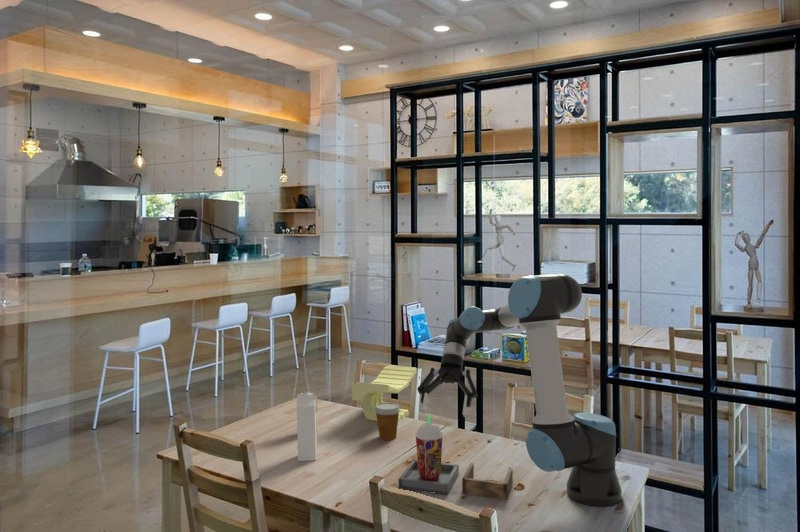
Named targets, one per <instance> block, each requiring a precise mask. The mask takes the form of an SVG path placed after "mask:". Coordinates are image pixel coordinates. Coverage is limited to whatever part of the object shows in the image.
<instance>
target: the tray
mask: <svg viewBox="0 0 800 532" xmlns="http://www.w3.org/2000/svg"><path fill="white" fill-rule="evenodd" d="M459 468H460V467H459V464H453V463H447V462H445V463H443V462H441V474H440V476H439V479H437V480H436V481H424V480H422V479H421V478H420V475H419V474H418V460H417V459H412V460H411V462H410V463H409V465H407V467H406V469H405V470H404V471H403V473H402V474H401V475H400V476H399V477H398V489H399V488H403V489H402V490H406V489H407V491H415V492H422V491H426V492H425V493H428V492H435V493H434V494H436V493H440V494H439V495H443V494H444V495H443V496H448V495H449V492H450V491H451V489H452V488H453V485H454V484H455V482H456V480H457V478H458V477H459V475H460V473H459V472H460V471H459V470H460V469H459Z"/></svg>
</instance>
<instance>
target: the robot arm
mask: <svg viewBox="0 0 800 532" xmlns="http://www.w3.org/2000/svg"><path fill="white" fill-rule="evenodd" d="M582 298H583V291H582V287H581V286H580V284H579V282H578V281H577V280H576V279H575V278H573V277H572V276H570V275H568V274H564V273H557V274H538V275H537V274H536V275H535V274H534V275H531V274H530V275H527V276H521V277H519V278H517V279H516V280H514V282H512V285H511V286H510V288H509V291H508V296H507V304H506V305H503V306H501V307H499V308H494V309H493V308H492V309H484V310H482V309H481V308H479V307H477V306H473V305H471V306H469V307H466V309H465V310H463V311H462V312H461V313H460V315H459V317H455V318H452V319H450V320H449V321H448V324H447V327H446V334H445V335H446V336H445V341H444V346H443V351H442V356H441V362H440V368H439V369H435V368H434V367H431V368H430V370H429V373H428V374H427V375H426V377H425V378H424V379H423V381H422V382H421V383H420V384H419V386H418V387H417V392H418V394H420V395H421V397H420V402H421V404H422V406H421V407H422V408H421V412H422V414H423V415H426V414H427V407H428V403H429V397H430V396H429V394H430V393H432V392H433V391H434V390H435V389H436V388H437V387H439V386H440V385H442V384H444V383H445V384H455V383H456V384H457V385H458V386H459V388H460V389H461V391H463V392H464V400H463V407H462V408H463V409H462V415H463V418H466V417H467V412H468V408H471V407H472V406H471V405H472V399H474V398H478V396H479V395H478V392H477V389H476V387H475V385H474V382H473V380H472V375H471V371H470V369H469V368H467V369H466V370H464V371H463V368H464V367H463V366H464V359H465V354H466V347H467V342H468V340H469V339H470V338H471V337H472V336H473V335H474V334H476V333H483V332H484V333H485V332H491V331H492V332H493V331H507V330H512V329H513V328H514V327H516V326H517V325H520V326H521V327H522V328H523V329H524V330H525V334H526V335H525V336H526V343H527V349H528V357H529V358H528V359H529V365H530V372H531V373H530V374H531V381H532V389H533V397H534V404H535V405H534V406H535V413H536V414H535V416H534V418H533V419H532V420H531V424H532V429H531V430H530V431H528V432H527V434H526V437H525V447H526V450H527V452H528V453H527V454H528V455H529V457H530V460H531V461H532V462H533V463H534V465H535V466H536V467H537V468H538V469H540V471H541V470H542V471H543V472H547V473H551V472H552V473H553V472H560V471H563V470H566V469H569V468H571V469H570V472H569V476H568V478H567V481H566V494H567V495H568V497H569V498H571V499H572V500H574V501H576V502H578V503H581V504H584V505H587V506H592V507H593V506H594V507H610V506H614V505H617V504H619V503H620V502H621V500H622V497H623V496H622V495H623V493H622V491H623V490H622V487H621V484H620V481H619V478H618V474H617V472H616V456H617V455H616V448H617V447H616V446H617V444H616V443H617V432H616V424H615V422H614V420H612V419H611V418H609V417H608V416H604V415H602V414H601V415H600V414H598V413H591V412H576V413H574V414H573V416H572V415H571V414H570V413H569V412H568V411H569V410H568V402H567V395H566V389H565V382H564V374H563V373H564V372H563V365H562V358H561V351H560V345H559V336H558V331H557V328H558V325H559V323H560V322H561V321H562V318H561V315H562V314H567V313H570V312H572V311H574V310H575V309H577V308H578V307H579V305H580V304H581V302H582ZM463 376H464V378H465V379H467V382H468V383H467V384H468V385H469V387H470V389H469V388H468V387H467V385H466V384H465V383H464V382H463V381H462V379H461V378H462V377H463ZM435 377H436V378H435ZM434 378H435V379H434ZM470 390H471V391H470Z"/></svg>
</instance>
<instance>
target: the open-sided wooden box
mask: <svg viewBox="0 0 800 532" xmlns="http://www.w3.org/2000/svg"><path fill="white" fill-rule="evenodd" d="M474 466H475V465H474V463H473V462H470V463H469V465H468V467H467V469H466V471H465V472H464V475H463V477H462V479H461V481H462V483H461V484H462V485H461V487H462V492H461V493H462V495H469V496H475V497H485V498H492V499H496V500H497V499H499V500H504V501H505V500H506V501H508V498H509V496H510V495H509V494H510V492H511V488H512V485H513V483H514V482H513V478H514V477H513V475H514V474H513V471H514V470H513V469H514V468H512V467H508V469H507V473H506V476H505V479H504V481H503V482H501V481H494V480H487V479H486V480H485V479H478V478H477V479H476V478H474V477H475V476H474V475H475V474H474V473H475V472H474V469H475V467H474Z"/></svg>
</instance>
